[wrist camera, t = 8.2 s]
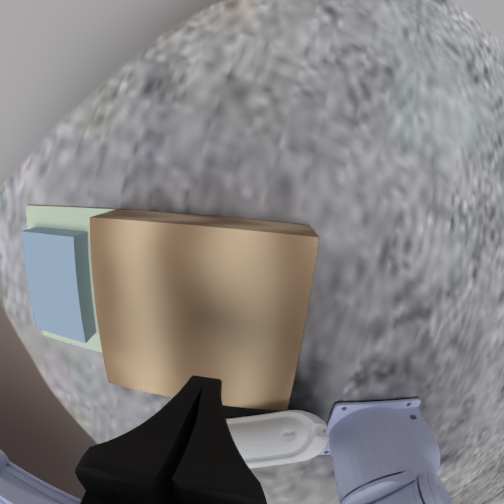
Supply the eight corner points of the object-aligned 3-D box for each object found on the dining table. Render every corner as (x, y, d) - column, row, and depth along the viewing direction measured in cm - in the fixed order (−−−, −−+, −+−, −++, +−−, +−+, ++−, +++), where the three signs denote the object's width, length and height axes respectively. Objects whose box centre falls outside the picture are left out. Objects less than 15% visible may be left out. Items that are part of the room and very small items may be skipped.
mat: (117, 209, 21) (115, 209, 20) (126, 356, 24) (125, 358, 24) (28, 205, 21) (26, 205, 21) (44, 333, 24) (43, 335, 24)
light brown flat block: (309, 225, 20) (319, 237, 17) (284, 378, 24) (286, 410, 20) (117, 209, 21) (89, 217, 17) (126, 356, 24) (108, 382, 20)
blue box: (21, 231, 19) (36, 226, 21) (36, 327, 21) (47, 319, 23) (73, 237, 19) (87, 231, 21) (85, 343, 21) (96, 332, 23)
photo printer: (157, 469, 16) (334, 455, 15) (155, 417, 19) (323, 396, 18) (206, 470, 24) (330, 455, 23) (203, 433, 27) (323, 416, 26)
